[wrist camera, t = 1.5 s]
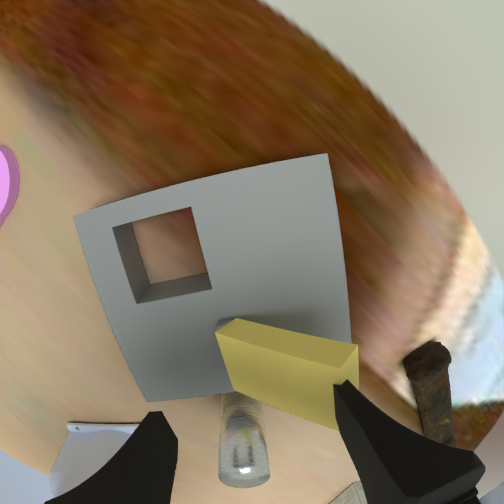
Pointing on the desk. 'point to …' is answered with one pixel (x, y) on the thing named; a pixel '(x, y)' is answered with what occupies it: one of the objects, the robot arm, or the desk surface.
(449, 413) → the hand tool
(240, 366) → the latch flap
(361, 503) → the light bulb box
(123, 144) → the desk surface
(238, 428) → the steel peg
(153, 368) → the plate
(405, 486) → the robot arm
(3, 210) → the bracket
